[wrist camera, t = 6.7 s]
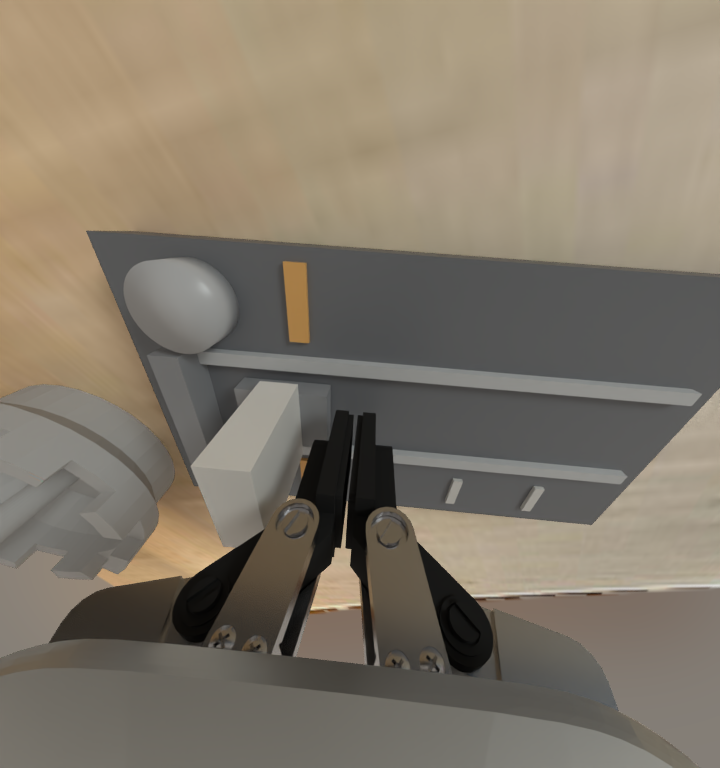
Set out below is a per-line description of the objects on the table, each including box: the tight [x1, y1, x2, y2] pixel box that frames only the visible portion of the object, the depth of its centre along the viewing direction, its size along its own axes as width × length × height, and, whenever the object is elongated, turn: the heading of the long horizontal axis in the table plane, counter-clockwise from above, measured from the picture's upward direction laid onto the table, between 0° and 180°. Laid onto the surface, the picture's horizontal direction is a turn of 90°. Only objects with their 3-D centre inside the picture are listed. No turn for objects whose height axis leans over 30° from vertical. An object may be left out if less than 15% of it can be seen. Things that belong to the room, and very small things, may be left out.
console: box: [86, 231, 720, 525], centre depth 12 cm, size 25×14×4 cm, turn 86°
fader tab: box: [191, 377, 331, 548], centre depth 10 cm, size 4×4×6 cm
